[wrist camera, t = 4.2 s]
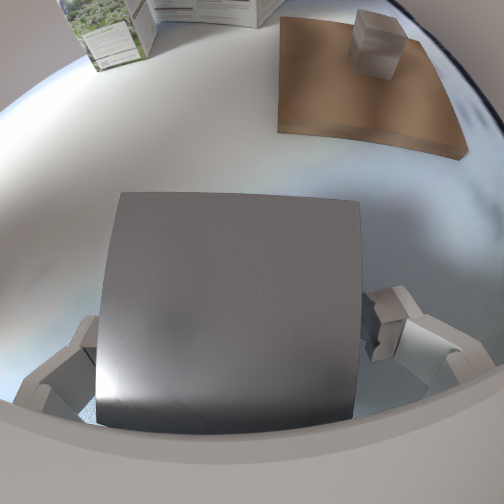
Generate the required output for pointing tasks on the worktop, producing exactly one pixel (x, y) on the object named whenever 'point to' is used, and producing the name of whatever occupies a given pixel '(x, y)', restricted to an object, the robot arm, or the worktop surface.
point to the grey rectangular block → (229, 313)
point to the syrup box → (111, 29)
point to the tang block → (363, 86)
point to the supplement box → (215, 11)
